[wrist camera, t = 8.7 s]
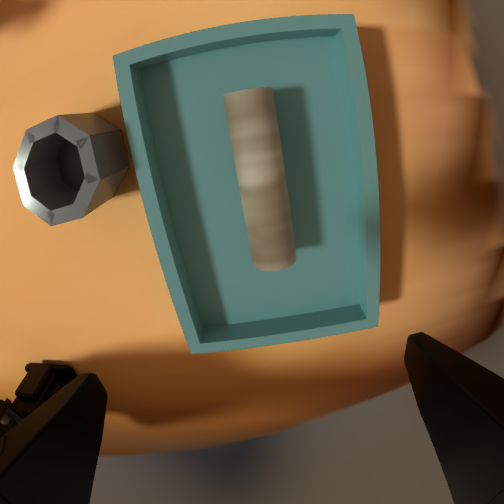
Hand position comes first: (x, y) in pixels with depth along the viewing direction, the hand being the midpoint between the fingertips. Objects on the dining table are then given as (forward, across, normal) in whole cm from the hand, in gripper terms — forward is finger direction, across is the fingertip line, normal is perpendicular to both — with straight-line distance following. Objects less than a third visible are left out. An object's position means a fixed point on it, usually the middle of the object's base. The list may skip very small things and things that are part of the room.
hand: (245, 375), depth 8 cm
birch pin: (+11, -1, +1) cm, 11 cm away
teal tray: (+12, -1, -2) cm, 12 cm away
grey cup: (+12, +9, -6) cm, 16 cm away
